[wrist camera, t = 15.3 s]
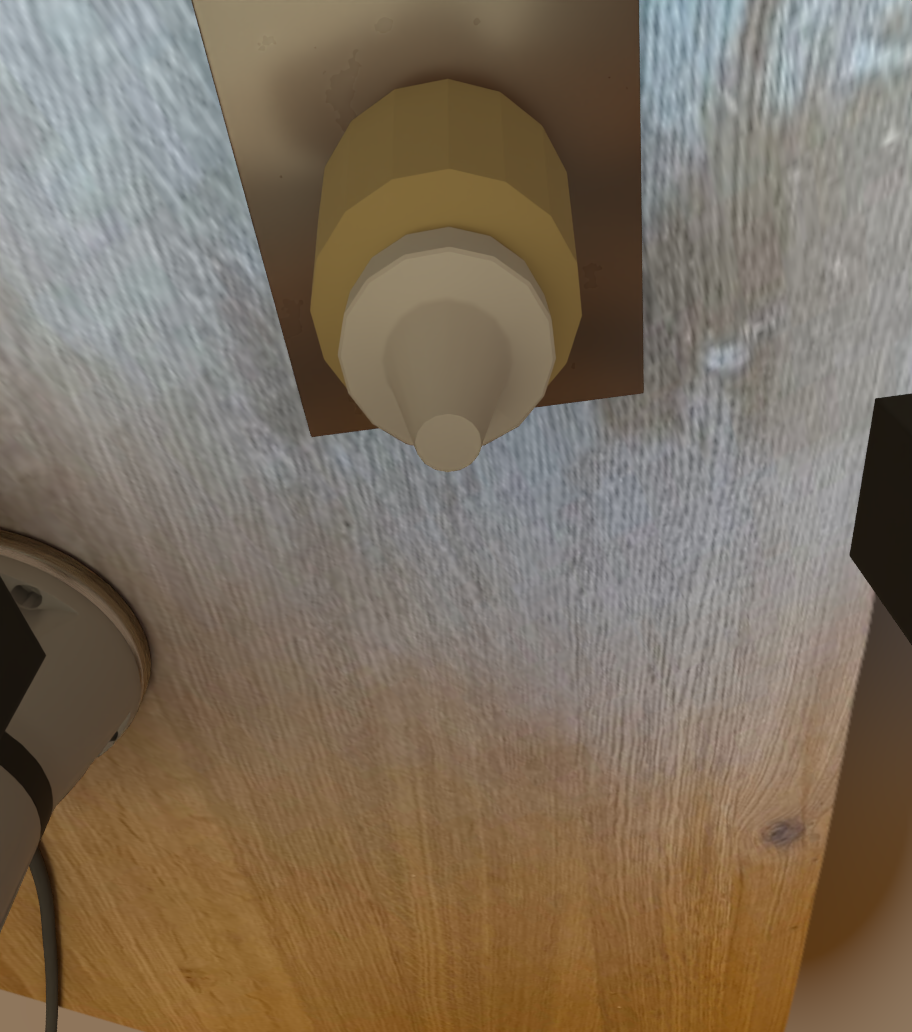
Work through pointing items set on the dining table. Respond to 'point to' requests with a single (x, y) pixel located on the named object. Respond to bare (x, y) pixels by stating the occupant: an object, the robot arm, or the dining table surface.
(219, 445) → the dining table surface
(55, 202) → the dining table surface
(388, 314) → the squeeze bottle
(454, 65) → the walnut board
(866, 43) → the dining table surface
